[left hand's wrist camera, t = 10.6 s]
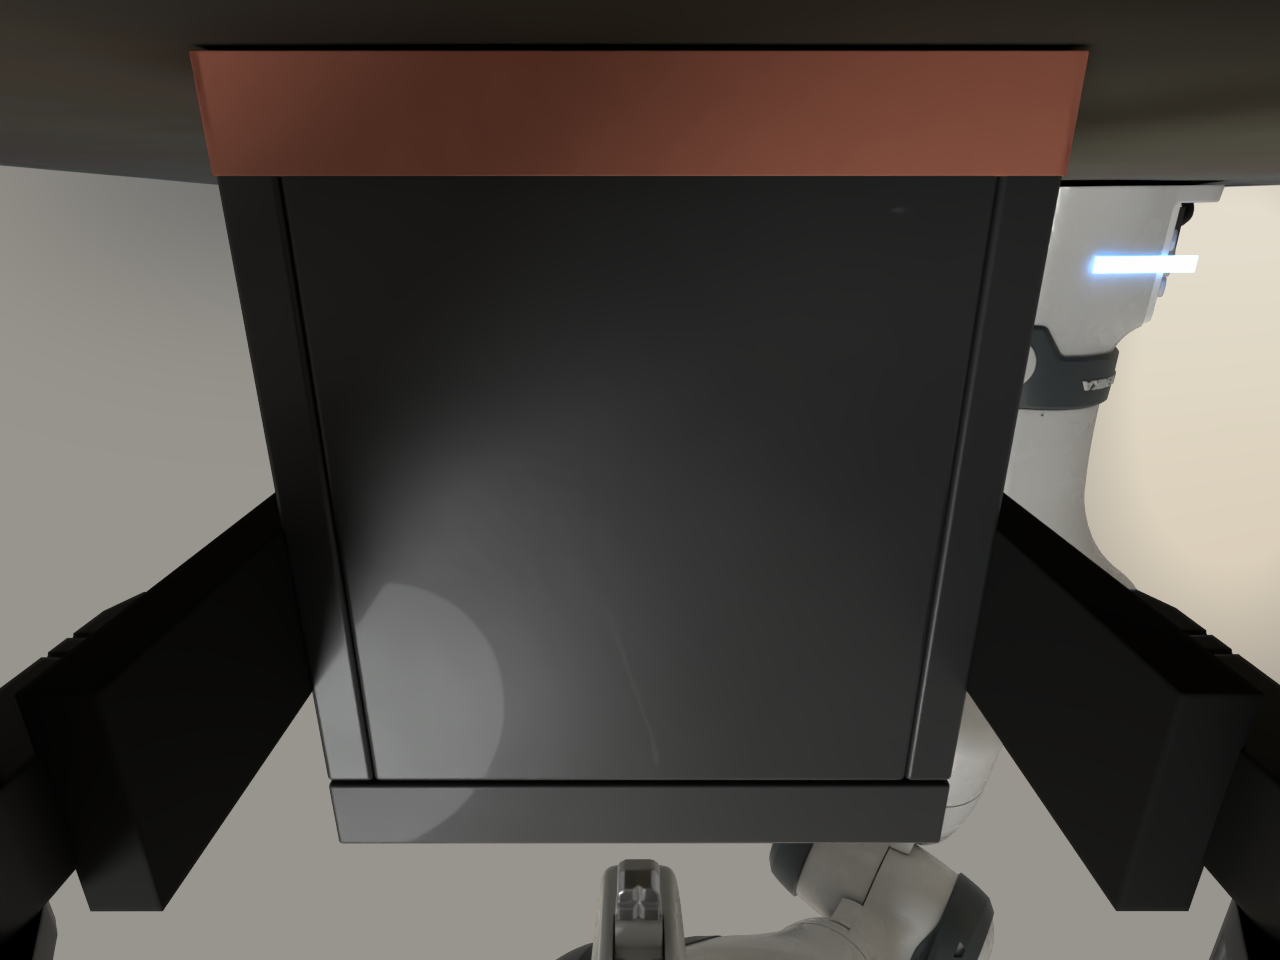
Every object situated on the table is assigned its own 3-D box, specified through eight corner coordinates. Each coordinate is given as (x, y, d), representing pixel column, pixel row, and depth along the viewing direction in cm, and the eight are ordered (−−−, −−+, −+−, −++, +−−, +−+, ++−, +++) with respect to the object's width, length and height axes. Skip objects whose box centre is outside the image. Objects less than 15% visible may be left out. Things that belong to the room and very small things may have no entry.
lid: (796, 499, 23) (779, 709, 26) (482, 499, 23) (499, 709, 26) (951, 785, 12) (891, 1108, 14) (326, 785, 12) (387, 1108, 14)
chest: (833, 141, 19) (802, 509, 22) (445, 141, 19) (476, 509, 22) (1090, 49, 8) (953, 783, 12) (188, 50, 8) (325, 783, 12)
